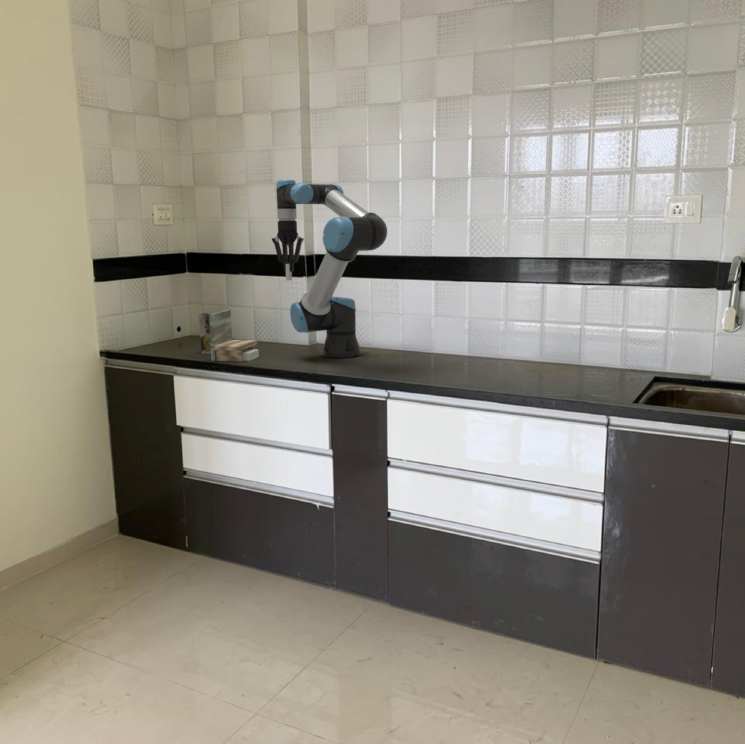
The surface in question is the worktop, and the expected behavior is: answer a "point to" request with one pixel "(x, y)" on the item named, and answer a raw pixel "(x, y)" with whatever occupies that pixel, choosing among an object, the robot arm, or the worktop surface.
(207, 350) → the coffee box
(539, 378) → the worktop surface
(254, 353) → the flat white block
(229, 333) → the upright marbled panel
